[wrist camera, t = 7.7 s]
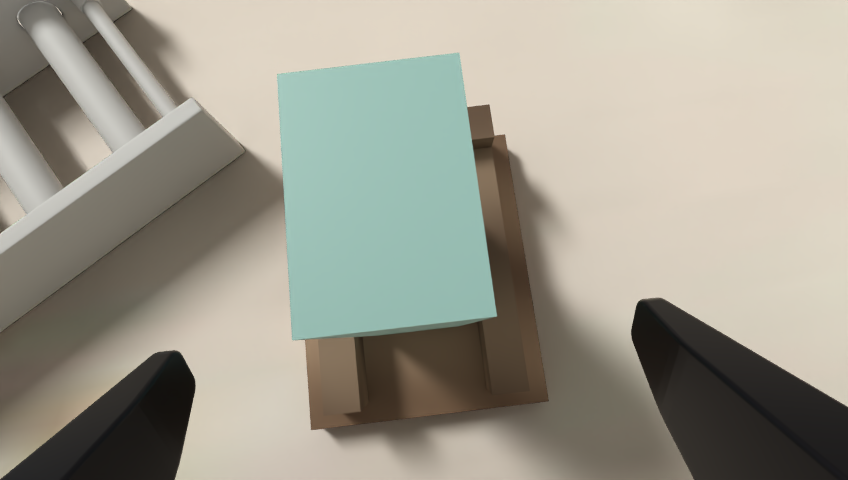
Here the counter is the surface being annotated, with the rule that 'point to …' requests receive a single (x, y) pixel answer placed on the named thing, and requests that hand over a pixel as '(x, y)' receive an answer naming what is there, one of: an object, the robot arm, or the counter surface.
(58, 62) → the test tube rack
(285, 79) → the mint green tall box
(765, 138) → the counter surface
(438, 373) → the track board
